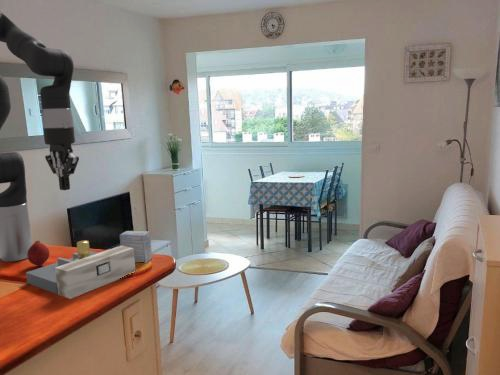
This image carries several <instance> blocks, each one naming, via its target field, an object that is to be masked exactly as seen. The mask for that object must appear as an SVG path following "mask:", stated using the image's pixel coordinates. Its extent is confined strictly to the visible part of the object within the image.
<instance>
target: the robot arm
mask: <svg viewBox="0 0 500 375" xmlns="http://www.w3.org/2000/svg"><path fill="white" fill-rule="evenodd" d="M0 42H2V43H4V44H5V43H6V47H7V49H8V50H9V51H10V53H11V54H12V55H14V56H15V57H16V58H18V59H20V60H21V61H23V63H25V64H26V66H27V67H28V68H29V70H30V71H31V72H32V73H34V74H35V75H39V76H41V77H53V78H54V80H53V82H52V84H51V85H45V86H43V87H41V88H40V92H39V94H40V102H41V122H42V130H43V139H44V144H45V145H47V146H49V154H48V155H45V156H44V157H45V158H44V159H45V161H46V162H47V164H48V167H49V168H50V170H51V172H52V174H53V175H54V174H55V175H56V176H57V177H58V185H59V190H60V191H69V190H70V189H71V184H70V176H71V175H74V174H75V171H76V169H77V166H78V164H79V161H80V157H79V156H78V155H75V154H73V151H74V149H73V148H72V144H74V143H76V136H75V127H74V118H73V113H72V109H71V108H72V106H71V98H70V96H71V95H70V91H71V86H72V79H73V74H74V65H75V64H74V60H73V57H72V56H71V55H70V54H69V52H67V51H66V50H64V49H57V48H51V47H50V48H49V47H47V46H46V44H44V42H42V41H41V40H40V39H38V38H36V37H35V36H32V35H31V34H29V33H27V32H25V31H24V30H23V29H21V28H20V26H18V25H17V24H16V23H14V21H13V20H11V19H10V18H9V17H8V16H7V15H6V14H5V13H4V12H2V11H0ZM11 109H12V107H11V97H10V90H9V87H8V84H7V82H6V80H5V79H4V77H3V76H2V75H1V74H0V131H1V130H2V127H3V126H4V124H5V122H6V121H7V119H8V117H9V114H10V113H11ZM26 180H27V179H26V167H25V163H24V159H23V157H22V155H21V154H20V153H19V152H16V151H11V152H9V151H8V152H7V151H6V152H0V184H1V185H2V184H7V183H9V186H8V187H7V188H6V189H5V190H3V191H1V192H0V261H2V262H16V261H22V260H26V259H28V257H27V253H28V250H29V248H30V247H31V246H32V245H33V238H32V230H31V223H30V215H29V206H28V200H27V184H26Z"/></svg>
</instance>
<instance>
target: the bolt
mask: <svg viewBox="0 0 500 375" xmlns="http://www.w3.org/2000/svg"><path fill="white" fill-rule="evenodd" d="M76 249H77V253H78V258H77V259H74V260H73V261H76V260H80V259H83V258H86V257H89V256H90V252H91V250H90V241H89V240H86V239H85V240H80V241H77V242H76ZM96 270H97V274H102V273H104V272H107V271H109V265H108V263H103V264H100V265H97V266H96Z"/></svg>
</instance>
